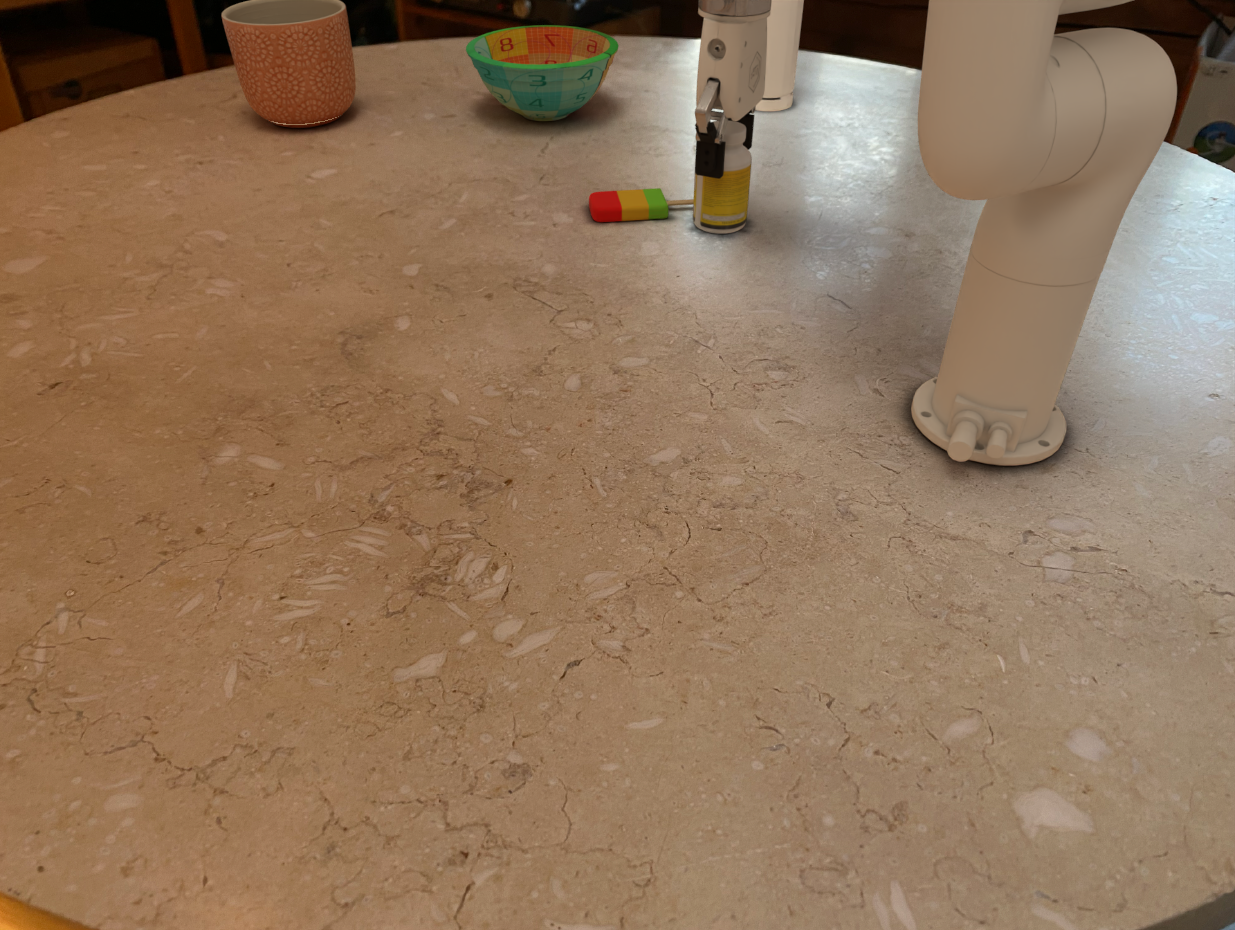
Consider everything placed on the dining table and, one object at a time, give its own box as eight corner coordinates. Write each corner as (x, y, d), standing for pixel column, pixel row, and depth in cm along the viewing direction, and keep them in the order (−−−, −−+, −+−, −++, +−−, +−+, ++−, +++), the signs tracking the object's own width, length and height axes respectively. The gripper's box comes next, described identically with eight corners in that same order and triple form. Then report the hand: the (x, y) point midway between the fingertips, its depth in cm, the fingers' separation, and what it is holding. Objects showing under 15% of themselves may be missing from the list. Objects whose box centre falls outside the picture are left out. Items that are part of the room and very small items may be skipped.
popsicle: (587, 205, 117) (587, 190, 116) (705, 199, 119) (706, 184, 117) (592, 224, 113) (592, 209, 112) (715, 217, 114) (716, 202, 113)
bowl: (441, 119, 141) (433, 49, 135) (534, 82, 156) (530, 17, 149) (559, 150, 131) (556, 76, 125) (646, 107, 146) (648, 38, 139)
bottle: (763, 91, 152) (782, -110, 134) (802, 103, 147) (827, -104, 129) (729, 102, 147) (744, -104, 130) (769, 115, 143) (790, -98, 125)
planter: (386, 115, 143) (370, 7, 133) (291, 146, 133) (265, 31, 123) (320, 92, 152) (299, -11, 142) (225, 119, 142) (197, 11, 132)
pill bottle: (752, 234, 110) (761, 135, 103) (699, 238, 110) (704, 139, 102) (738, 211, 115) (745, 115, 108) (686, 215, 115) (691, 119, 107)
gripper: (741, 21, 90) (728, 194, 100) (794, -16, 102) (778, 142, 113) (669, 13, 92) (664, 182, 103) (729, -22, 104) (719, 132, 115)
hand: (723, 161), depth 108 cm, fingers open, 9 cm apart
